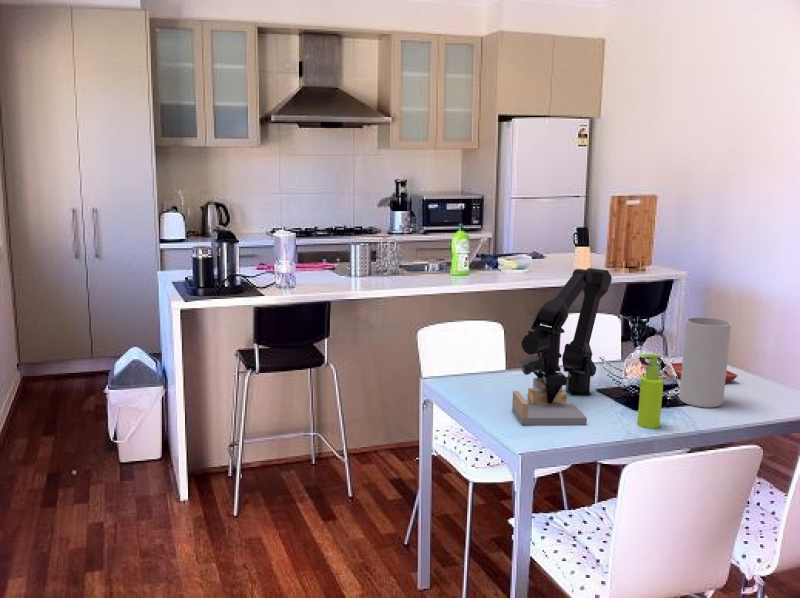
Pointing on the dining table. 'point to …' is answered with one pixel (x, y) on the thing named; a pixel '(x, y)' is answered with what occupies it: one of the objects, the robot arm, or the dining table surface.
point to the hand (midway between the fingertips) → (546, 400)
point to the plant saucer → (678, 369)
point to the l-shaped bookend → (546, 413)
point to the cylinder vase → (704, 361)
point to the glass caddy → (544, 394)
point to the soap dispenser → (650, 394)
